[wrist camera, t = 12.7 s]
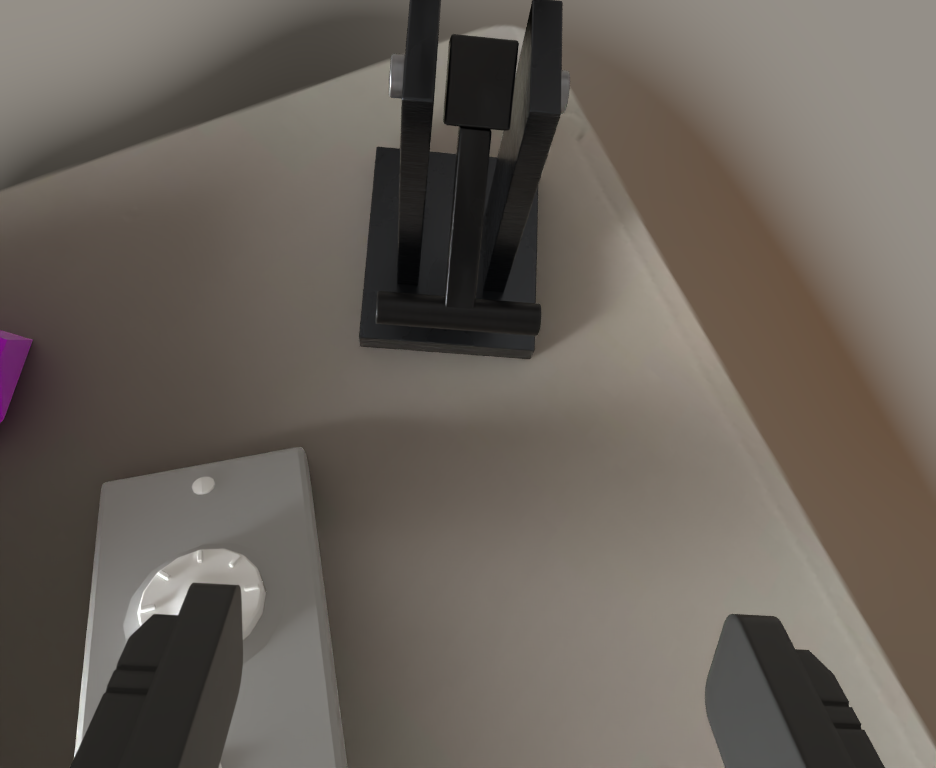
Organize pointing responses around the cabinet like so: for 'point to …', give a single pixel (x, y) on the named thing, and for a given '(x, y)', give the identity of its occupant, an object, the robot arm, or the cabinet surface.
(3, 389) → the crystal
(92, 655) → the light switch
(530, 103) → the bracket
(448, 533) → the cabinet surface
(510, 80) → the lever
